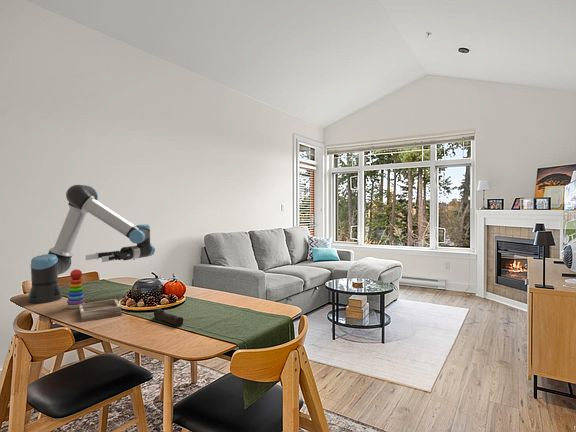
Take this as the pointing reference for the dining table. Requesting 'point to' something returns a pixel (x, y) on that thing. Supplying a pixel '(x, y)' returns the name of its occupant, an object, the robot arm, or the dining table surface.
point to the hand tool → (168, 317)
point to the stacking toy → (75, 290)
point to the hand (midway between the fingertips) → (93, 258)
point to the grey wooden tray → (99, 310)
